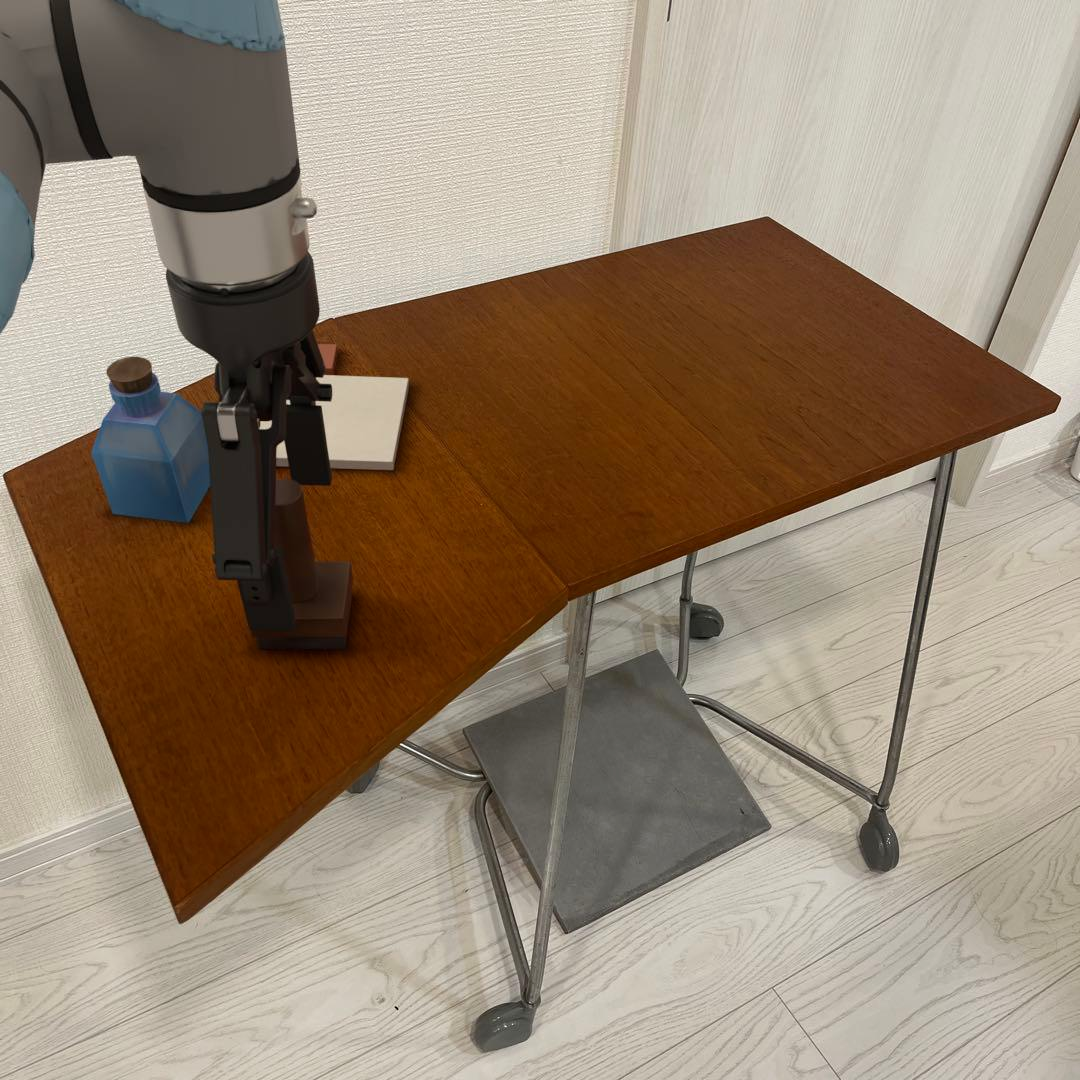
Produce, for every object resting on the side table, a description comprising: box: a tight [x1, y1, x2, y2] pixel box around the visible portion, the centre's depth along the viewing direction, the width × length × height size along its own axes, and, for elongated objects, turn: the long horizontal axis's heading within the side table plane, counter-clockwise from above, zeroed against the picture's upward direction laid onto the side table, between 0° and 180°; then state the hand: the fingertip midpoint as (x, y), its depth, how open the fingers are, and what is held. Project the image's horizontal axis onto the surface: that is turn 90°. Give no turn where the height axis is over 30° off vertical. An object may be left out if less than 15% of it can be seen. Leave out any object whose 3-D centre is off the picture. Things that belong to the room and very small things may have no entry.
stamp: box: [249, 478, 354, 650], centre depth 68 cm, size 6×5×12 cm
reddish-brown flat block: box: [317, 343, 339, 375], centre depth 95 cm, size 4×4×1 cm
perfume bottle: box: [91, 356, 210, 524], centre depth 78 cm, size 6×6×12 cm
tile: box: [259, 374, 410, 471], centre depth 88 cm, size 12×12×1 cm
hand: (294, 549), depth 67 cm, fingers open, 13 cm apart
